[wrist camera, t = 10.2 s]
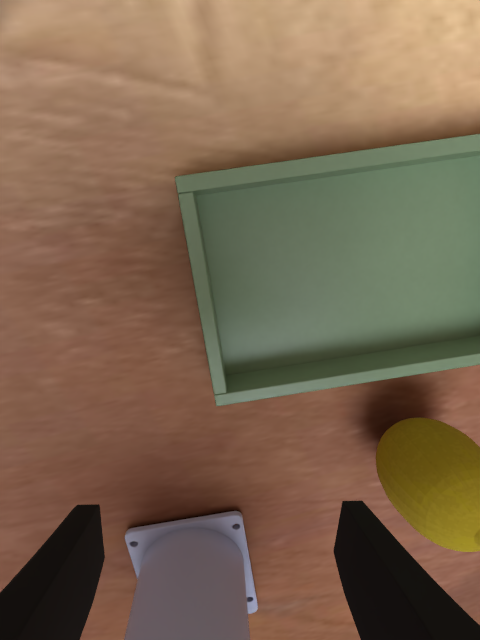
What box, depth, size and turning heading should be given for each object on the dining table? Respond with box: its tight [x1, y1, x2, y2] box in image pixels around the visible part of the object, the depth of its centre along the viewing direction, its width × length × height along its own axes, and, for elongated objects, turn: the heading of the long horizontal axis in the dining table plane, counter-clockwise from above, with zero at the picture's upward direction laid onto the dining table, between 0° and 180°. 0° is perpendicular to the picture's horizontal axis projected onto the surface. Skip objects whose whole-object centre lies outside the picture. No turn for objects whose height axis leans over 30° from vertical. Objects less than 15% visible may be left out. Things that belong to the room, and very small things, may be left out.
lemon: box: [376, 418, 480, 552], centre depth 18 cm, size 6×6×8 cm
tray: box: [175, 134, 480, 406], centre depth 17 cm, size 11×17×3 cm, turn 98°
